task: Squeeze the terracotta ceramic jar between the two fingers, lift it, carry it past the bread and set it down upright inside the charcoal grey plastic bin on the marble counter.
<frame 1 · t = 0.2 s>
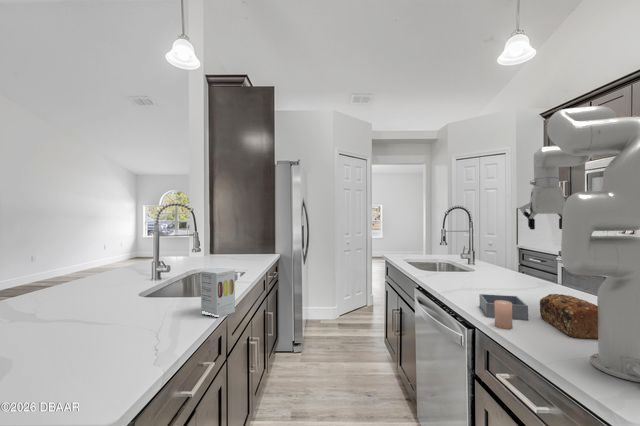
hand: (547, 229, 116), 31 cm above the counter, tool pointing down, fingers open, 9 cm apart
supplement box: (218, 313, 122), on the counter
bread: (570, 328, 101), on the counter
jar: (503, 326, 103), on the counter
bin: (502, 313, 116), on the counter
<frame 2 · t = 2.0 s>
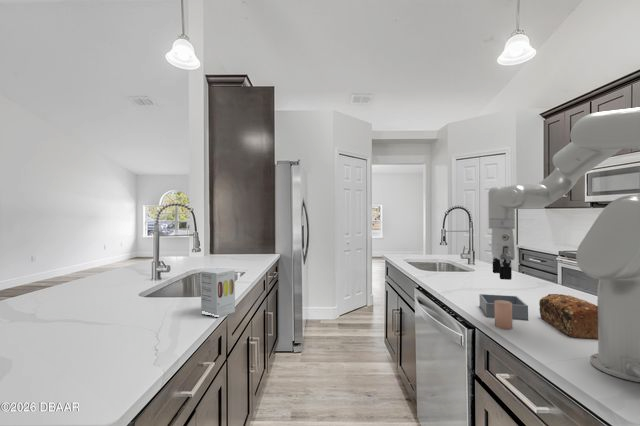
hand: (501, 276, 103), 17 cm above the counter, tool pointing down, fingers open, 9 cm apart
nothing on the counter moved.
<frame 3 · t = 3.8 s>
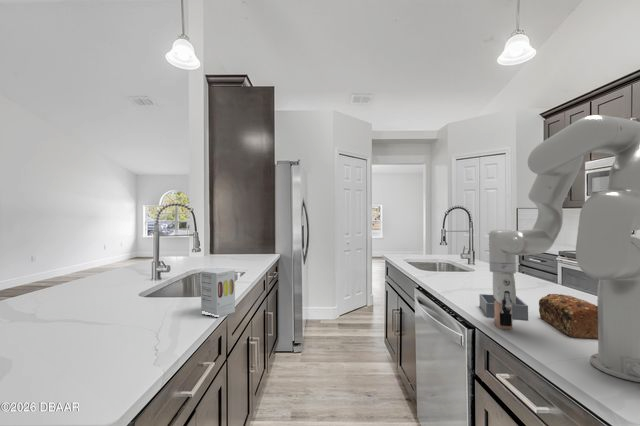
hand: (503, 322, 103), 1 cm above the counter, tool pointing down, fingers closed on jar, 5 cm apart
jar: (503, 326, 103), on the counter, touching gripper
everything else where it was.
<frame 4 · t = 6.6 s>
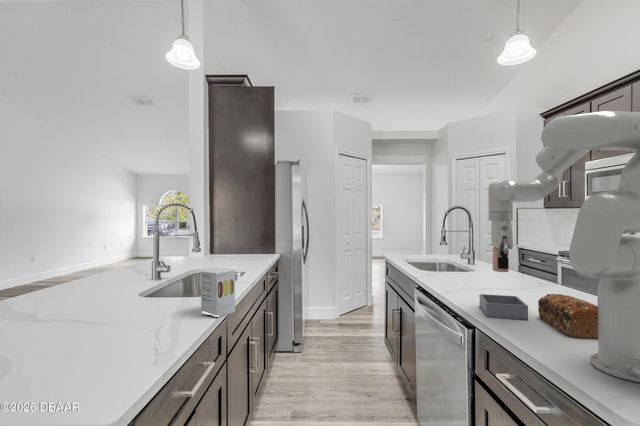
hand: (500, 266, 112), 18 cm above the counter, tool pointing down, fingers closed on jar, 5 cm apart
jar: (500, 270, 112), point 17 cm above the counter, touching gripper
everything else where it was.
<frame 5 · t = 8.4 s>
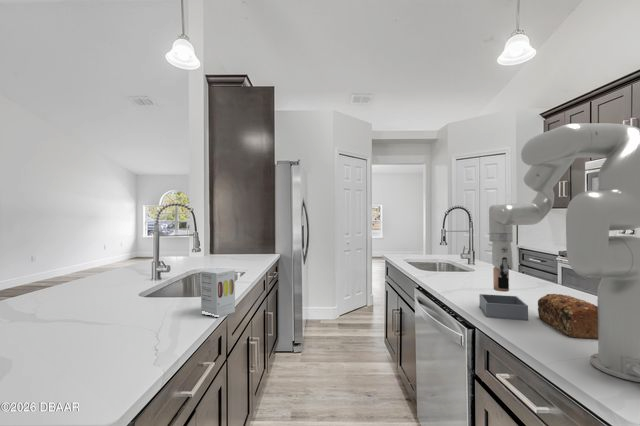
hand: (501, 286, 116), 10 cm above the counter, tool pointing down, fingers closed on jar, 5 cm apart
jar: (501, 289, 116), point 9 cm above the counter, touching gripper
everything else where it was.
when the fingers open (5 cm above the counter, at t = 9.7 s): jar drops 3 cm, resting on bin.
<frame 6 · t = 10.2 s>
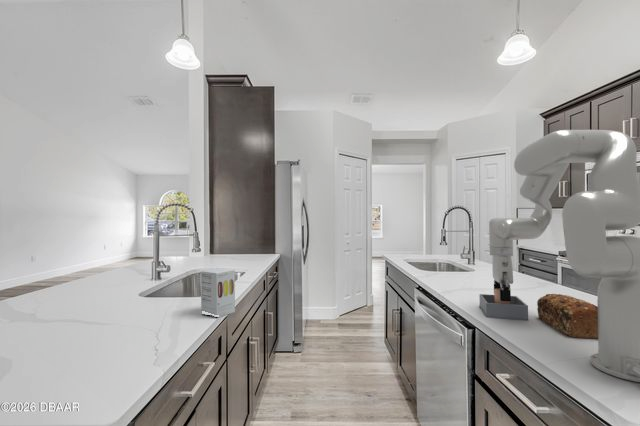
hand: (501, 297, 116), 6 cm above the counter, tool pointing down, fingers open, 9 cm apart
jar: (502, 311, 116), point 1 cm above the counter, touching bin
everything else where it was.
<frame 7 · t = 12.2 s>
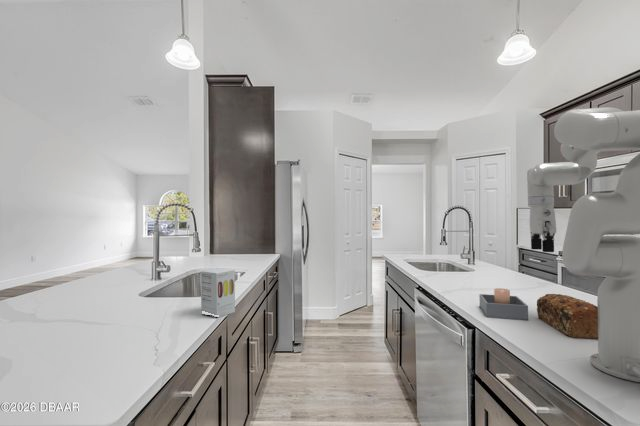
hand: (542, 250, 110), 24 cm above the counter, tool pointing down, fingers open, 9 cm apart
nothing on the counter moved.
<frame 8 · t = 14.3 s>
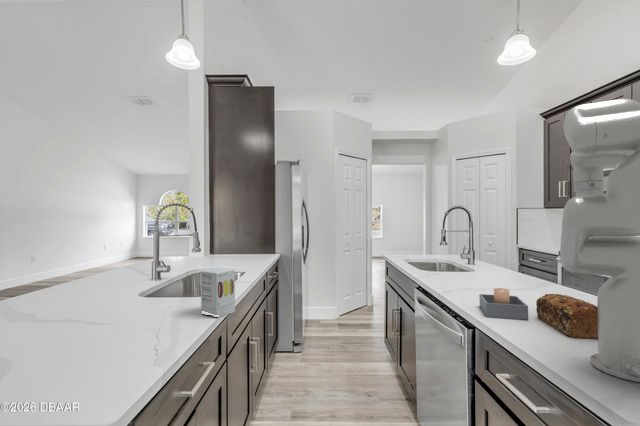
hand: (589, 238, 104), 28 cm above the counter, tool pointing down, fingers open, 9 cm apart
nothing on the counter moved.
at the end: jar inside the target area on the bin (0.2 cm from its centre), point 0.7 cm above the bin's base; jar tilted 1°; the gripper is holding nothing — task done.
